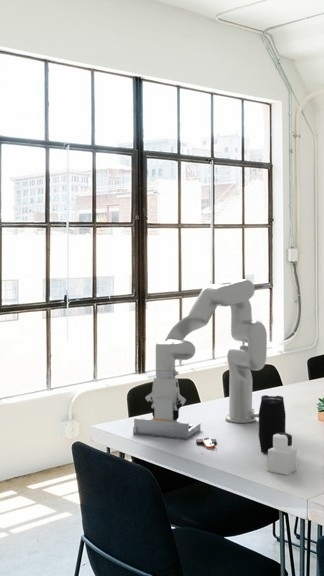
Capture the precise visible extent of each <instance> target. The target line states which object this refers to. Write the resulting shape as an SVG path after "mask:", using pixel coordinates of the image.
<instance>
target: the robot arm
mask: <svg viewBox="0 0 324 576" xmlns="http://www.w3.org/2000/svg"><path fill="white" fill-rule="evenodd" d="M255 290H256V288H255V285H254V283H253V282H252V281H251V280H249V279H246V278H244V279H242V278H224V279H222V280H220V282H219V283H218V284H206V285H205V286H204V287H203V288H202V290H200V293H199V294H198V297H197V298H196V300H195V301H194V304H193V305H192V307H191V309H190V311H189V313H187V315H185V316H184V317H183V318H182V319H181V320H179V321H178V322H177V323H175V325H174V326H173V327H172V328H171V330H170V331H169V332H168V334H167V337H165V339H164V341H159V342H157V343H155V375H154V377H153V381H152V387H151V388H152V389H151V392H150V393H149V394H148V395H146V396H145V400H146V401H147V404H148V405H149V406H150V407H151V409H152V417H153V418H152V419H154V399H155V398H167V399H173V407H174V411H173V420H174V421H175V420H177V421H178V419H179V416H180V412H179V410H180V409H181V408H182V407H183V405H185V403H186V402H187V399H186V398H185V397H183V396H182V395H181V394H180V387H179V386H180V385H179V381H178V380H179V379H178V375H179V371H177V370H176V360H178V361H180V360H181V361H188V360H190V359H192V358H193V357H194V355H195V354H196V346H195V344H193V342H191V341H188V340H184V339H185V338H186V337H187V336H189V334H191V333H192V332H195V331H197V330H199V329H202V328H204V327H206V326H207V325H208V324H209V322H210V319H211V318H212V316H213V314H214V312H215V311H216V310H217V308H218V307H230V313H231V314H230V316H231V317H230V333H231V337H232V339H233V340H234V341H237V342H240V343H246V344H247V345H246V344H235V345H233V346H231V347H230V348H229V349H228V351H227V364H228V370H229V373H228V375H229V387H228V389H229V397H228V398H229V399H228V402H229V403H228V404H229V406H228V407H229V408H228V410H229V411H228V412H229V413H228V414H227V415H225V421H227V422H231V423H237V424H249V423H253V422H255V421H256V419H257V418H258V419H259V411H254V410H255V408H253V375H252V372H251V371H260V370H262V369H264V367H265V365H266V363H267V343H268V342H267V341H268V339H267V337H268V334H267V329H266V326H265V324H264V323H263V322H261V321H258V320H254V319H253V315H252V313H253V312H252V305H251V302H250V299H252V297H253V296H254V295H255ZM178 402H179V403H178Z"/></svg>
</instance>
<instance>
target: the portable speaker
mask: <svg viewBox="0 0 324 576" xmlns="http://www.w3.org/2000/svg"><path fill="white" fill-rule="evenodd" d="M260 399H261V400H260V405H259V409H258V412H259V418H258V440H259V446H260V452H261V453H262V454H267V453H268V450H269V449H271V448H273V435H274V434H276V433H286V418H287V417H286V416H287V414H286V407H285V402H284V401H285V400H284V396H282V395H275V396H274V395H270V396H269V395H262V396H261V397H260Z"/></svg>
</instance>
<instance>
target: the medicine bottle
mask: <svg viewBox="0 0 324 576" xmlns="http://www.w3.org/2000/svg"><path fill="white" fill-rule="evenodd" d="M297 453H298V449H297V448H296V447H293V436H292V435H291V434H290V433H287V432H285V433H276V434H274V435H273V448H271V449H269V450H268V452H267V471H268V472H270V473H275V474H279V475H280V474H281V475H284V476H288V475H290V474H292V473H293V472H295V471H297V469H298V468H297V464H298V463H297V461H298V459H297V458H298V456H297V455H298V454H297Z"/></svg>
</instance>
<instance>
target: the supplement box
mask: <svg viewBox="0 0 324 576" xmlns="http://www.w3.org/2000/svg"><path fill="white" fill-rule="evenodd" d="M173 411H174V407H173V399H167V398H155V399H154V419H161V420H171V421H173V422H178V419H177V420H175V421H174V420H173Z"/></svg>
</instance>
